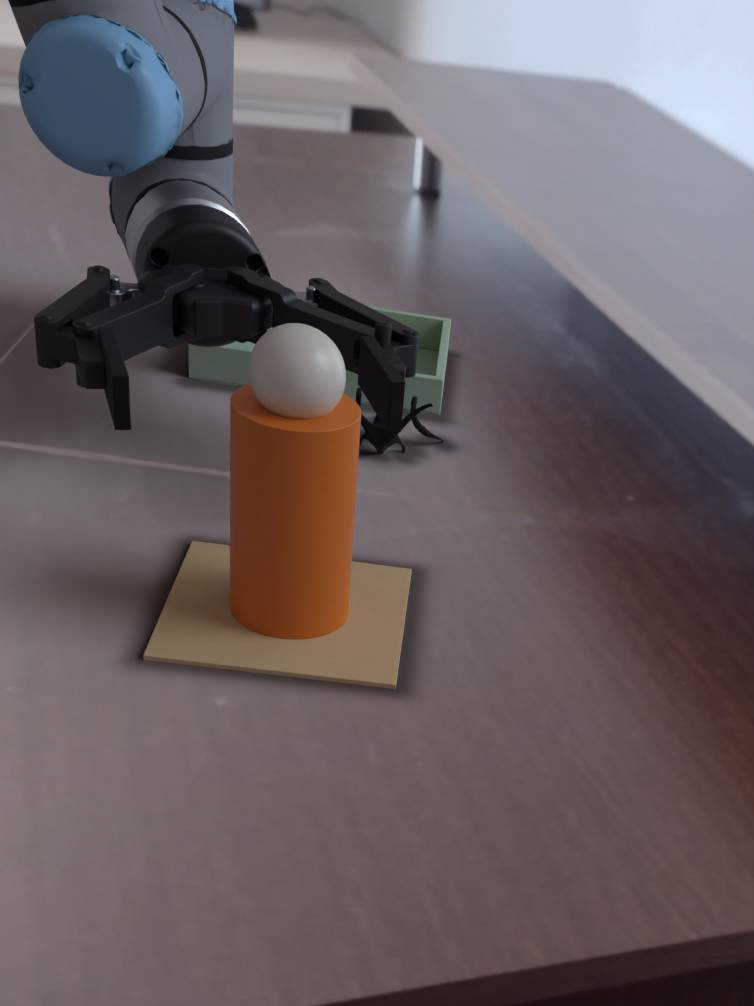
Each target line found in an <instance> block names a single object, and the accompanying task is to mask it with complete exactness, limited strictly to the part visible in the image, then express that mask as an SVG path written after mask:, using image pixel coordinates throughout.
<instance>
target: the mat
mask: <svg viewBox="0 0 754 1006" xmlns="http://www.w3.org/2000/svg"><path fill="white" fill-rule="evenodd" d="M412 571H413V569H412V568H408V567H407V568H406V567H400V566H392V565H386V564H385V565H384V564H377V563H376V564H375V563H368V562H361V561H354V560H352V567H351V582H350V598H349V613H348V618H347V620H346V622H345V623H344V624H343V625H342V626H341V627H340V628H339V629H337V630H335V631H334V632H332V633H329V634H327V635H323V636H320V637H315V638H308V639H283V638H276V637H271V636H266V635H263V634H260V633H257V632H255V631H252V630H250V629H248V628H246V627H245V626H243V625H242V624H240V623H239V622H238V621H237V620H236V619H235V618H234V616H233V615H232V613H231V610H230V544H229V545H228V544H221V543H214V542H205V541H198V540H191V542H190V545H189V547H188V550H187V552H186V554H185V556H184V559H183V561H182V563H181V566H180V568H179V571H178V573H177V575H176V578H175V580H174V582H173V585H172V587H171V589H170V592H169V594H168V596H167V598H166V601H165V602H164V603H165V604H164V606H163V608H162V610H161V612H160V615H159V617H158V619H157V621H156V624H155V627H154V629H153V631H152V634H151V636H150V638H149V641H148V643H147V645H146V647H145V650H144V652H143V655H142V660H143V661H150V662H156V663H157V662H158V663H166V664H175V665H182V666H183V665H184V666H192V667H200V668H201V667H202V668H210V669H216V670H217V669H219V670H227V671H235V672H244V673H252V674H261V675H270V676H276V677H277V676H278V677H287V678H295V679H304V680H313V681H314V680H315V681H321V682H322V681H323V682H330V683H338V684H345V685H346V684H348V685H356V686H364V687H374V688H383V689H389V690H396V689H397V683H398V676H399V675H398V674H399V667H400V660H401V652H402V645H403V638H404V631H405V625H406V624H405V623H406V616H407V608H408V602H409V593H410V586H411V578H412Z"/></svg>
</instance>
